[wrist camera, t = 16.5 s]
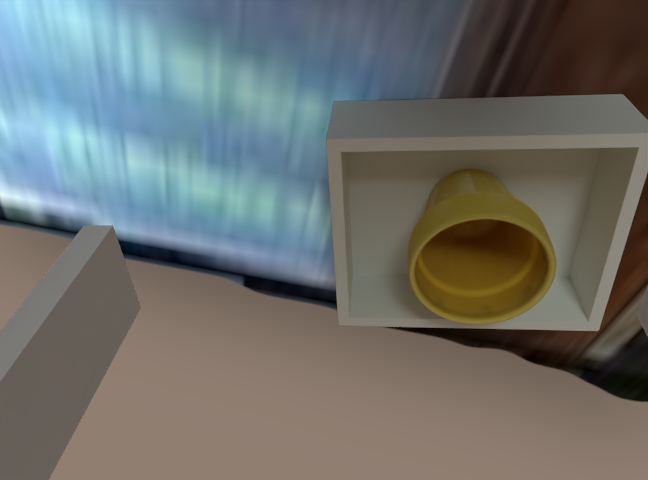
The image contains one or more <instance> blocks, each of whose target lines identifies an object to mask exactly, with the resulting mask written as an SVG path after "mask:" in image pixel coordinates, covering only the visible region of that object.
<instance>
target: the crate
mask: <svg viewBox="0 0 648 480" xmlns="http://www.w3.org/2000/svg"><path fill="white" fill-rule="evenodd" d="M326 147H327V162H328V177H329V192H330V207H331V222H332V236H333V251H334V266H335V281H336V296H337V311H338V325H339V326H378V327H428V328H477V329H527V330H576V331H599V328H600V325H601V321H602V318H603V315H604V312H605V308H606V305H607V302H608V299H609V295H610V292H611V289H612V286H613V282H614V279H615V276H616V273H617V269H618V266H619V263H620V260H621V256H622V253H623V250H624V247H625V243H626V240H627V237H628V234H629V231H630V227H631V224H632V221H633V218H634V214H635V211H636V208H637V205H638V201H639V198H640V195H641V192H642V188H643V185H644V182H645V179H646V175H647V172H648V120H647V119H646V118H645V117H644V116H643V115H642V114H641V113H640V112H639V111H638V110H637V109H636V108H635V107H634V105H633V104H632V103H631V102H630V101H629V100H628V99H627V98H626V97H625V96H624V95H623V94H607V95H569V96H531V97H492V98H454V99H416V100H377V101H339V102H334V104H333V108H332V113H331V118H330V123H329V127H328V132H327V137H326ZM465 169H477V170H482V171H486V172H488V173H490V174H492V175H494V176H495V177H497V178H498V179H499V180H500V181H501V182H502V183H503V184H504V186H505V187H506V188H507V189H508V191H509V192H510V193H511V194H512V195H513V197H514V198H516V199H518V200H520V201H522V202H523V203H525V204H526V205H528V206H529V207H530V208H531V209H532V210H533V211H534V212H535V213H536V214H537V215H538V216H539V218H540V219H541V221H542V222H543V224H544V226H545V228H546V231H547V233H548V235H549V238H550V240H551V243H552V246H553V249H554V252H555V256H556V272H555V277H554V280H553V282H552V285H551V287H550V288H549V290H548V292H547V293H546V294H545V296H544V297H543V298H542V299H541V300H540V301H539V302H538V303H537V304H536V305H535V306H533V307H532V308H531V309H529V310H528V311H526V312H524V313H523V314H521V315H519V316H516V317H514V318H512V319H509V320H506V321H502V322H497V323H492V324H482V325H474V324H462V323H457V322H454V321H450V320H447V319H445V318H442V317H440V316H438V315H436V314H435V313H433V312H431V311H430V310H429V309H427V308H426V307H425V306H424V305H423V304H422V303H421V302H420V301H419V300H418V298H417V297H416V295H415V294H414V292H413V290H412V288H411V285H410V282H409V277H408V247H409V240H410V237H411V233H412V231H413V229H414V227H415V225H416V223H417V222H418V221H419V219H420V218H421V217H422V216H423V215H424V212H425V209H426V206H427V202H428V199H429V196H430V193H431V191H432V189H433V188H434V187H435V185H436V184H437V183H438V182H439V181H440V180H441V179H442V178H444V177H445V176H447V175H449V174H451V173H453V172H455V171H459V170H465Z"/></svg>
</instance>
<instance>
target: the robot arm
mask: <svg viewBox="0 0 648 480" xmlns="http://www.w3.org/2000/svg"><path fill="white" fill-rule="evenodd" d="M140 308H141V307H140V304H139V301H138V298H137V295H136V292H135V289H134V286H133V284H132V281H131V277H130V275H129V272H128V269H127V266H126V263H125V260H124V257H123V254H122V251H121V248H120V245H119V242H118V239H117V236H116V234H115V231H114V228H113V226H83V228H82V229H81V230H80V231H79V233H78V234H77V235H76V236H75V238H74V239H73V240H72V241H71V243H70V244H69V245H68V246H67V248H66V249H65V250H64V251H63V253H62V254H61V255H60V256H59V258H58V259H57V260H56V262H55V263H54V264H53V265H52V266H51V268H50V269H49V270H48V272H47V273H46V274H45V275H44V276H43V278H42V279H41V280H40V282H39V283H38V284H37V285H36V287H35V288H34V289H33V290H32V292H31V293H30V294H29V295H28V297H27V298H26V299H25V300H24V302H23V303H22V304H21V306H20V307H19V308H18V309H17V310H16V312H15V313H14V314H13V315H12V317H11V318H10V319H9V320H8V322H7V323H6V324H5V325H4V327H3V328H2V329H1V330H0V480H49V478H50V476H51V474H52V473H53V471H54V469H55V467H56V465H57V463H58V461H59V459H60V458H61V456H62V454H63V452H64V450H65V448H66V446H67V444H68V443H69V441H70V439H71V437H72V435H73V433H74V431H75V430H76V428H77V426H78V424H79V422H80V420H81V418H82V416H83V415H84V413H85V411H86V409H87V407H88V405H89V403H90V402H91V399H92V398H93V396H94V394H95V392H96V390H97V388H98V387H99V385H100V383H101V381H102V379H103V377H104V375H105V373H106V372H107V370H108V368H109V366H110V364H111V362H112V360H113V358H114V357H115V355H116V353H117V351H118V349H119V347H120V345H121V344H122V342H123V340H124V338H125V336H126V334H127V332H128V330H129V329H130V327H131V325H132V323H133V321H134V319H135V317H136V315H137V314H138V312H139V310H140ZM637 317H638V319H639V321H640V323H641V325H642V327H643V328H644V330H645V332H646V334H647V336H648V286H647V289H646V292H645V295H644V297H643V300H642V303H641V306H640V309H639V311H638V314H637Z"/></svg>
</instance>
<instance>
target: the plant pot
mask: <svg viewBox="0 0 648 480" xmlns="http://www.w3.org/2000/svg"><path fill="white" fill-rule="evenodd" d="M555 272H556V256H555V252H554V249H553V246H552V243H551V240H550V238H549V235H548V233H547V231H546V228H545V226H544V224H543V222H542V221H541V219H540V218H539V216H538V215H537V214H536V213H535V212H534V211H533V210H532V209H531V208H530V207H529V206H528V205H526V204H525V203H523V202H522V201H520V200H518V199H516V198H514V197H513V195H512V194H511V193H510V192H509V191H508V189H507V188H506V187H505V186H504V184H503V183H502V182H501V181H500V180H499V179H498V178H497V177H495V176H494V175H492V174H490V173H488V172H486V171H482V170H477V169H465V170H459V171H455V172H453V173H451V174H449V175H447V176H445V177H444V178H442V179H441V180H440V181H439V182H438V183H437V184H436V185H435V187H434V188H433V189H432V191H431V193H430V196H429V199H428V202H427V206H426V209H425V212H424V215H423V216H422V217H421V218H420V219H419V221H418V222H417V223H416V225H415V227H414V229H413V231H412V233H411V237H410V240H409V247H408V277H409V282H410V285H411V288H412V290H413V292H414V294H415V295H416V297H417V298H418V300H419V301H420V302H421V303H422V304H423V305H424V306H425V307H426V308H427V309H429V310H430V311H431V312H433V313H435V314H436V315H438V316H440V317H442V318H445V319H447V320H450V321H454V322H457V323H462V324H474V325H482V324H492V323H497V322H502V321H506V320H509V319H512V318H514V317H516V316H519V315H521V314H523V313H524V312H526V311H528V310H529V309H531V308H532V307H533V306H535V305H536V304H537V303H538V302H539V301H540V300H541V299H542V298H543V297H544V296H545V294H546V293H547V292H548V290H549V288H550V287H551V285H552V282H553V280H554V277H555Z"/></svg>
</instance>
